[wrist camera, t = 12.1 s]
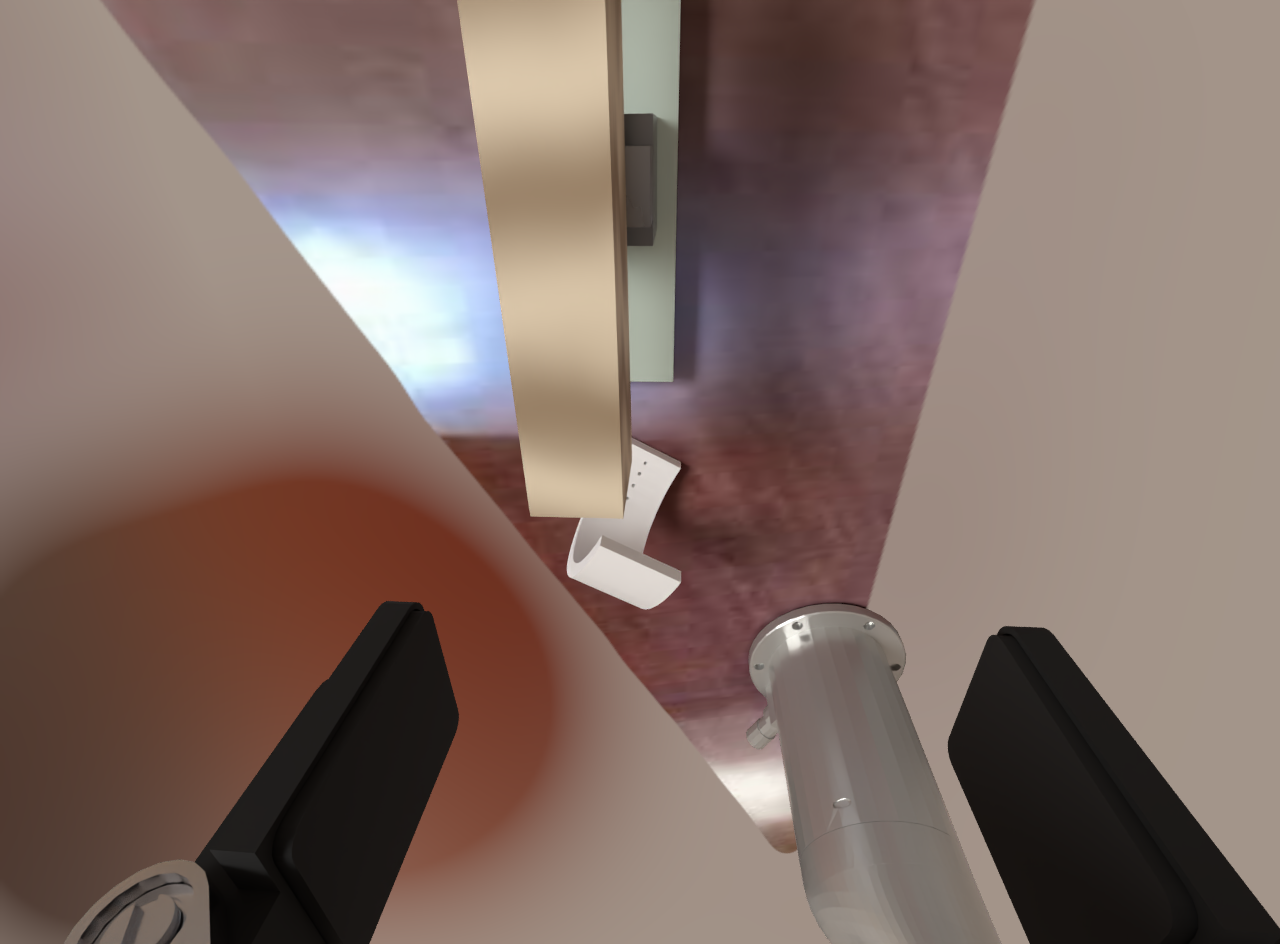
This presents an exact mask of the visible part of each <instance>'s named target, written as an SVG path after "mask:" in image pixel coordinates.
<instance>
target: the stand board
mask: <svg viewBox="0 0 1280 944" xmlns="http://www.w3.org/2000/svg"><path fill="white" fill-rule="evenodd" d="M621 8H622V50H623V93H624V114H644V113H653V114H654V115H656V116H657V232H656V236H655V240H654V244H653V246H627V264H628V306H629V349H630V381H637V382H673V366H674V315H675V264H676V214H677V163H678V112H679V62H680V11H681V0H621Z"/></svg>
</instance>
